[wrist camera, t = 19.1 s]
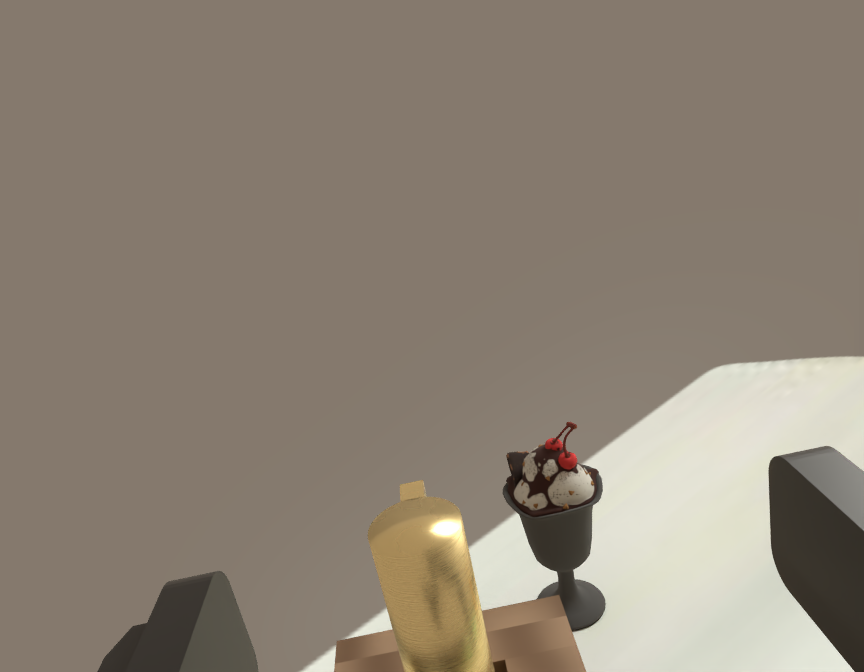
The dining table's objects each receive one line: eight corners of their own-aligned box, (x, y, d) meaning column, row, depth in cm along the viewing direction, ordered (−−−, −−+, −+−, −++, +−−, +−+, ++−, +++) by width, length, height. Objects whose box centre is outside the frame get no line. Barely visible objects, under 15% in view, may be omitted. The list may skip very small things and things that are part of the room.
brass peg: (508, 730, 42) (453, 473, 35) (527, 828, 36) (466, 544, 30) (436, 745, 42) (369, 491, 35) (444, 846, 36) (366, 565, 30)
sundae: (635, 623, 47) (611, 431, 42) (540, 651, 47) (506, 458, 42) (597, 563, 53) (573, 389, 48) (514, 587, 53) (480, 413, 48)
